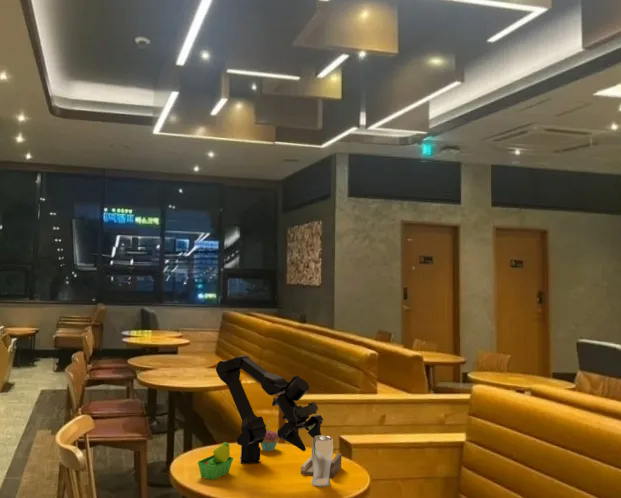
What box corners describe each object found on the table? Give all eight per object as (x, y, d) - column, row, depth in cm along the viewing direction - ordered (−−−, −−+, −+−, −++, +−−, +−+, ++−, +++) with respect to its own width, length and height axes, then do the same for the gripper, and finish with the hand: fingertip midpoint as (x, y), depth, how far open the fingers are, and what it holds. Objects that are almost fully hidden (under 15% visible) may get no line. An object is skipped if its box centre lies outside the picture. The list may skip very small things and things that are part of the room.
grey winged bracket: (300, 473, 217) (301, 459, 217) (310, 463, 228) (311, 449, 229) (333, 478, 214) (333, 463, 214) (341, 467, 225) (341, 453, 225)
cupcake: (278, 453, 239) (279, 421, 240) (255, 452, 239) (257, 420, 240) (279, 446, 248) (281, 416, 248) (258, 445, 248) (259, 415, 248)
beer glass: (329, 488, 204) (331, 441, 204) (308, 486, 205) (310, 439, 205) (333, 481, 211) (334, 436, 211) (312, 479, 212) (314, 434, 212)
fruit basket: (215, 468, 219) (216, 435, 219) (236, 473, 215) (238, 439, 215) (195, 477, 209) (197, 443, 209) (217, 482, 205) (219, 447, 205)
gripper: (285, 398, 207) (310, 439, 200) (320, 391, 221) (344, 429, 214) (266, 418, 212) (290, 458, 204) (302, 410, 226) (325, 447, 219)
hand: (313, 447), depth 210 cm, fingers open, 9 cm apart
